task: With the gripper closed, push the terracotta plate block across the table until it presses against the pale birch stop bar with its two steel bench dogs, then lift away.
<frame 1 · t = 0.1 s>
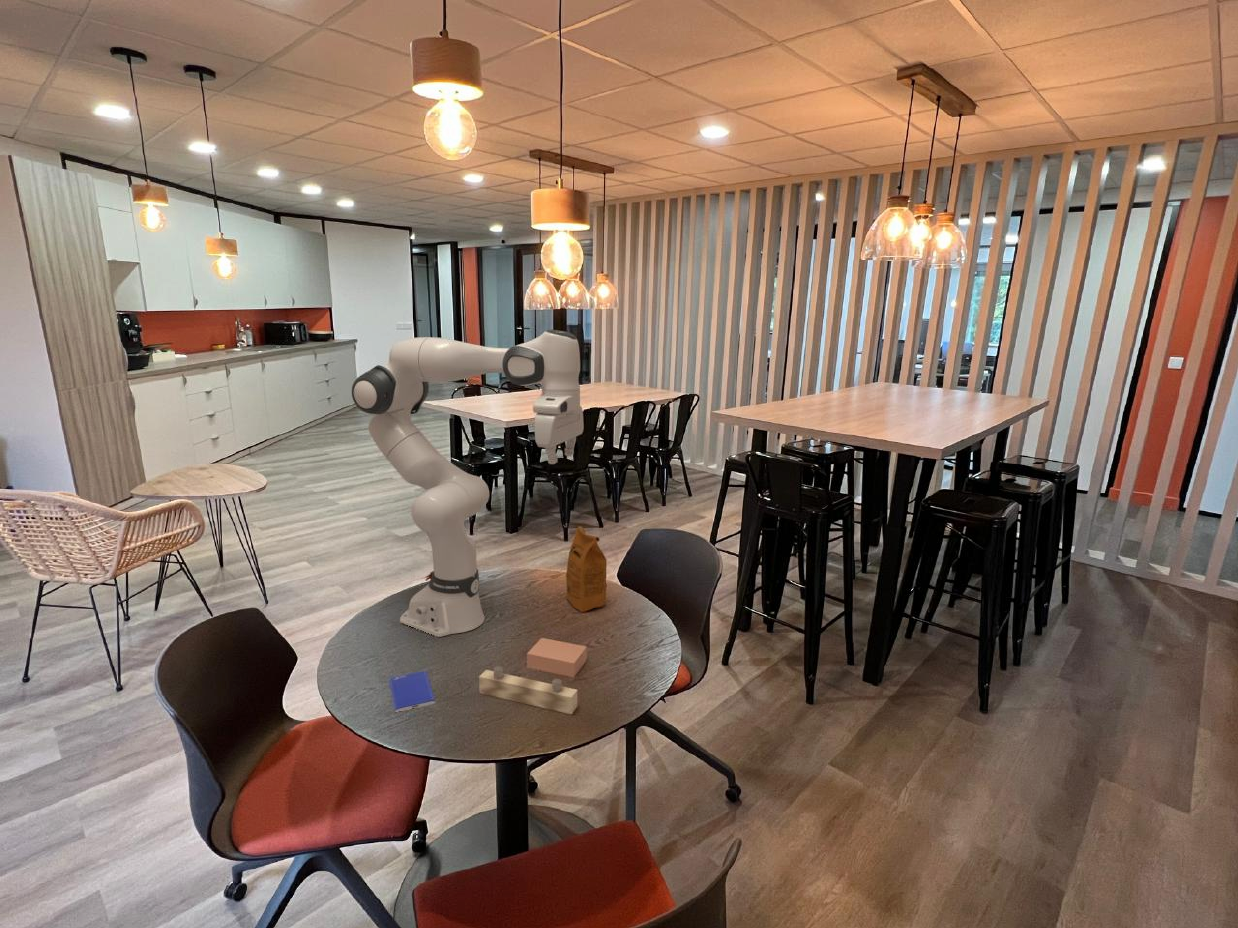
hand: (561, 459, 150), 48 cm above the table, tool pointing down, fingers open, 8 cm apart
terracotta block: (557, 665, 151), on the table
coffee package: (585, 603, 183), on the table
stop bar: (527, 699, 137), on the table
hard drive: (411, 695, 139), on the table
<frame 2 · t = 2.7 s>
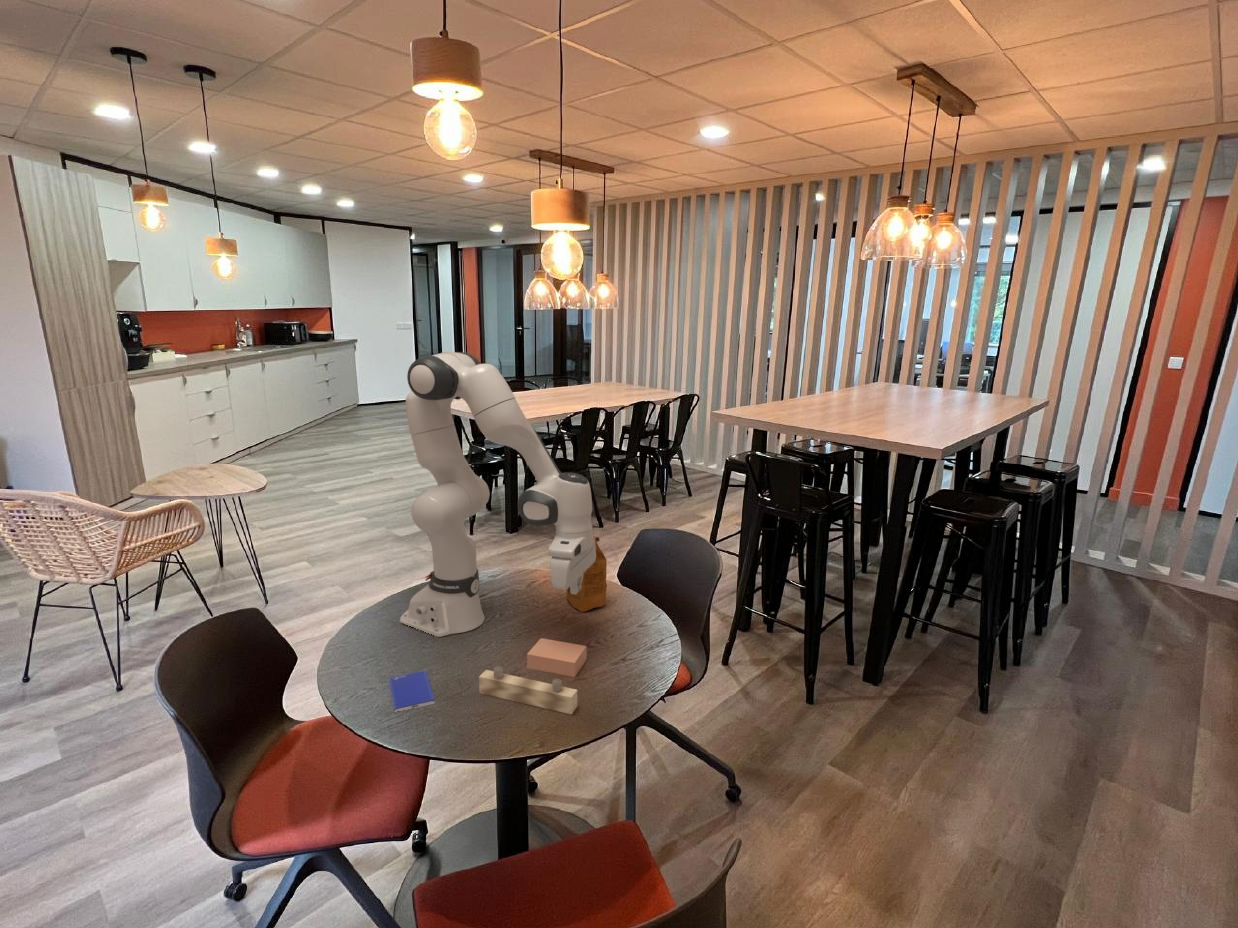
hand: (575, 592, 157), 14 cm above the table, tool pointing down, fingers closed
nothing on the table moved.
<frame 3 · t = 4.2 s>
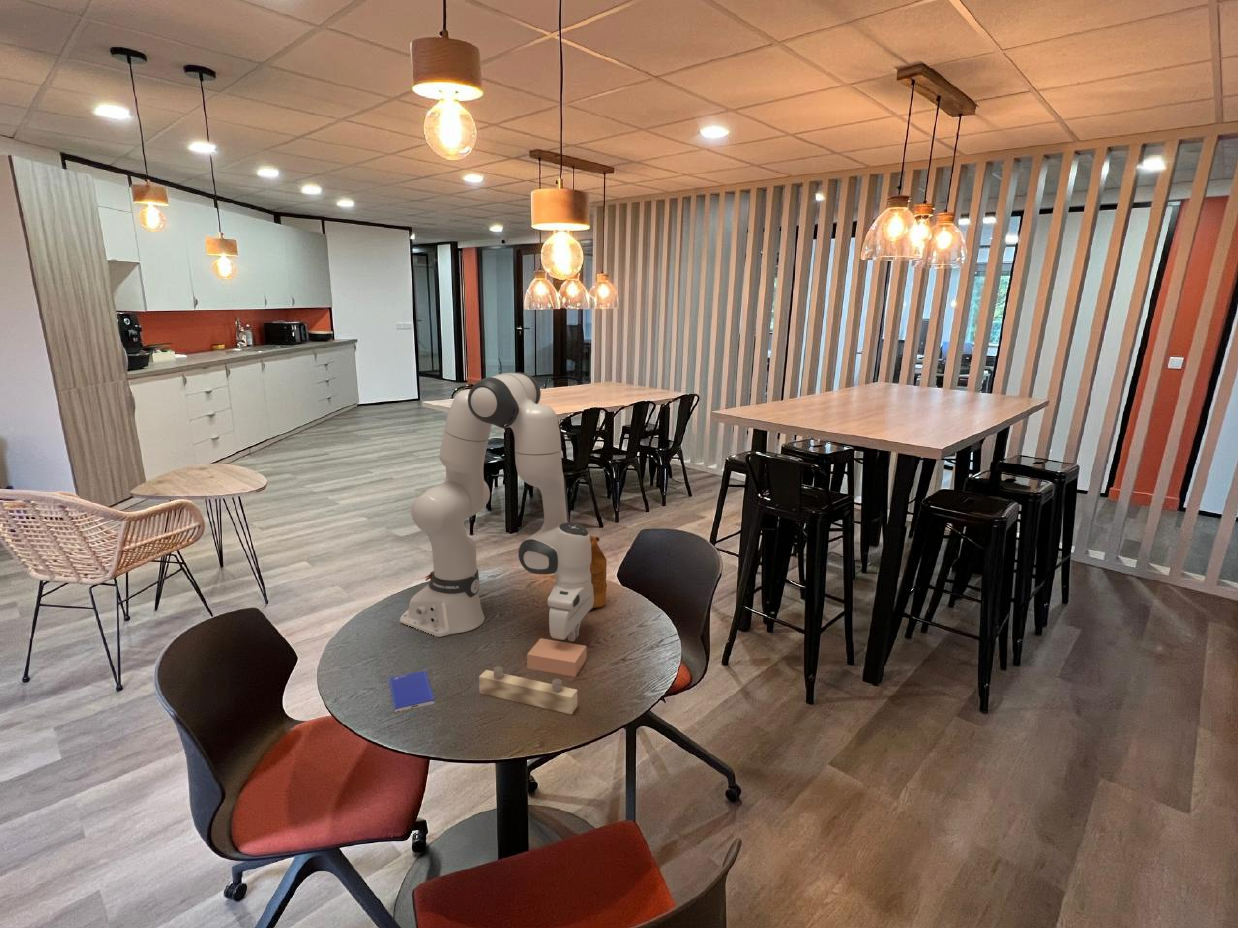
hand: (573, 638, 160), 2 cm above the table, tool pointing down, fingers closed
nothing on the table moved.
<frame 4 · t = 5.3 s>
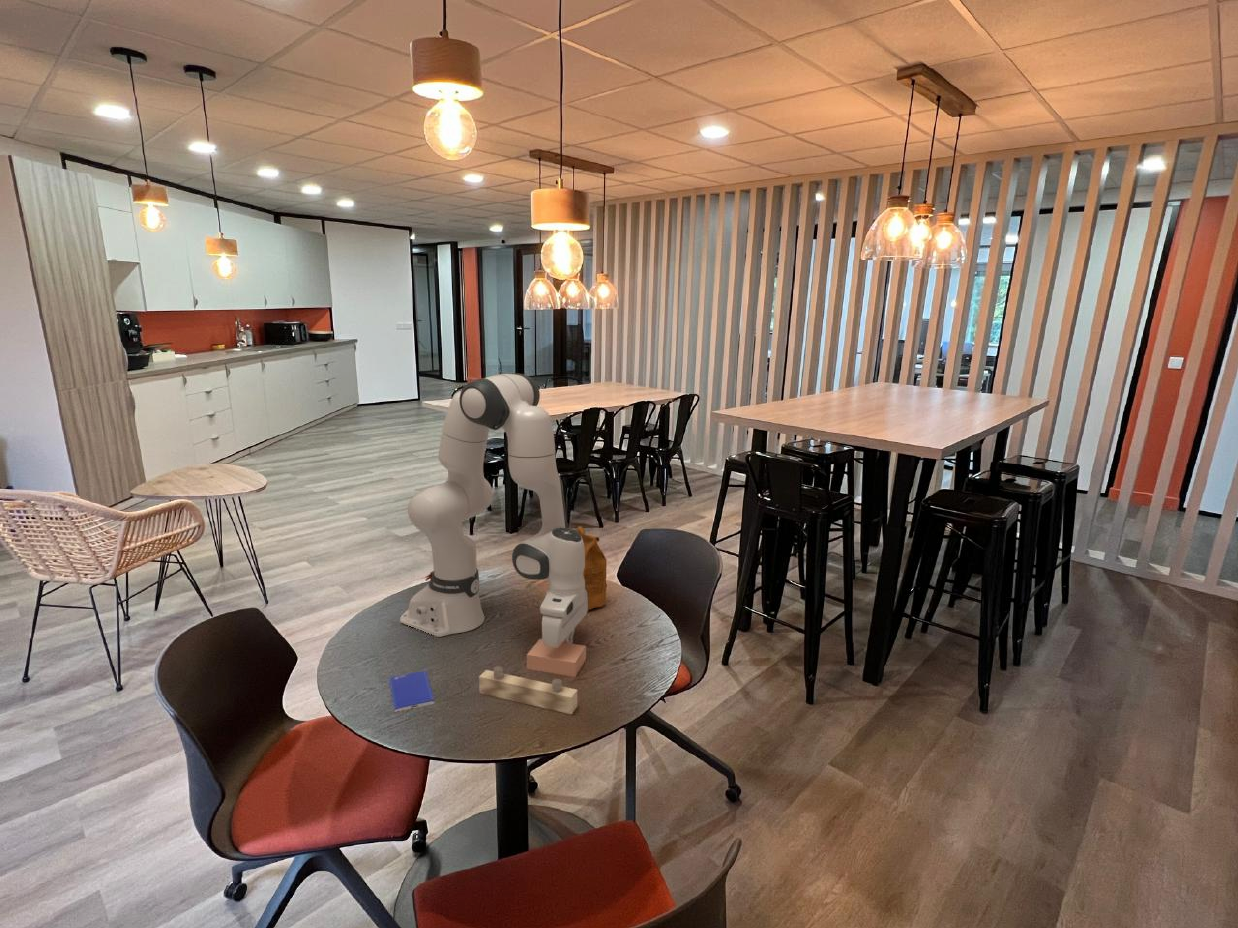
hand: (566, 646, 156), 2 cm above the table, tool pointing down, fingers closed
terracotta block: (556, 665, 151), on the table, touching gripper
everything else where it was.
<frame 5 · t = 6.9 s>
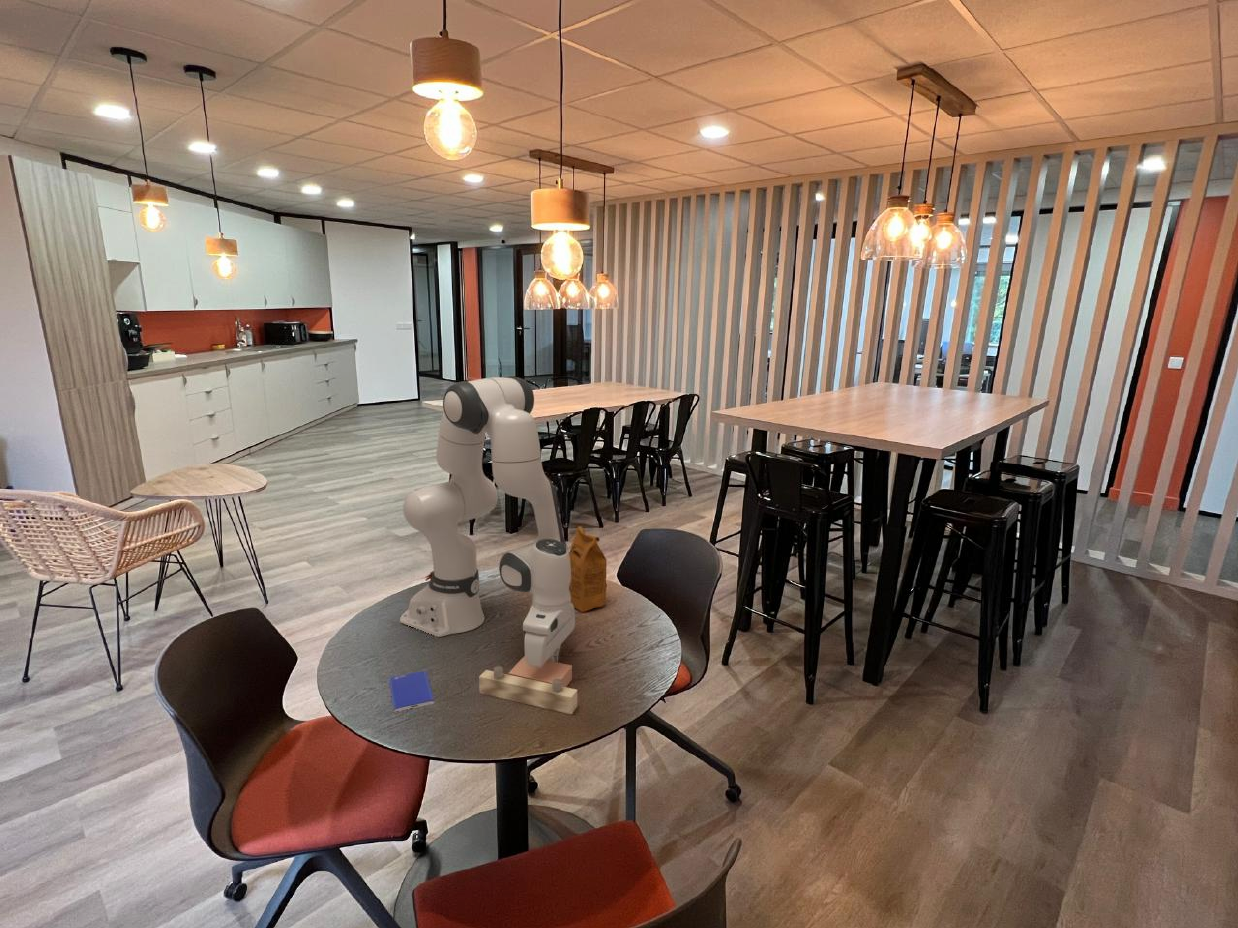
hand: (552, 664, 148), 2 cm above the table, tool pointing down, fingers closed
terracotta block: (540, 685, 143), on the table
everything else where it was.
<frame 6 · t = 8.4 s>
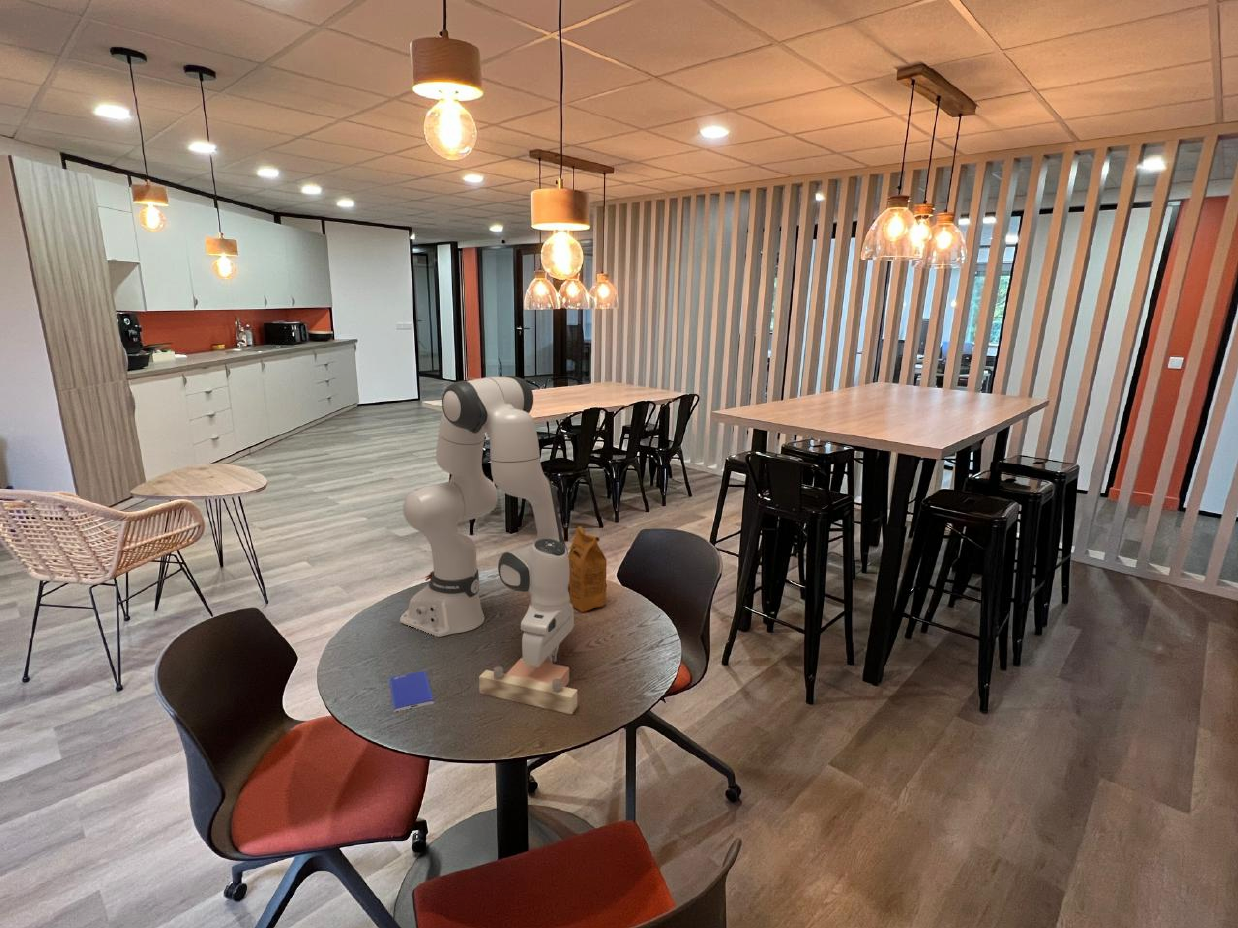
hand: (550, 663, 148), 2 cm above the table, tool pointing down, fingers closed
terracotta block: (537, 687, 142), on the table
everything else where it was.
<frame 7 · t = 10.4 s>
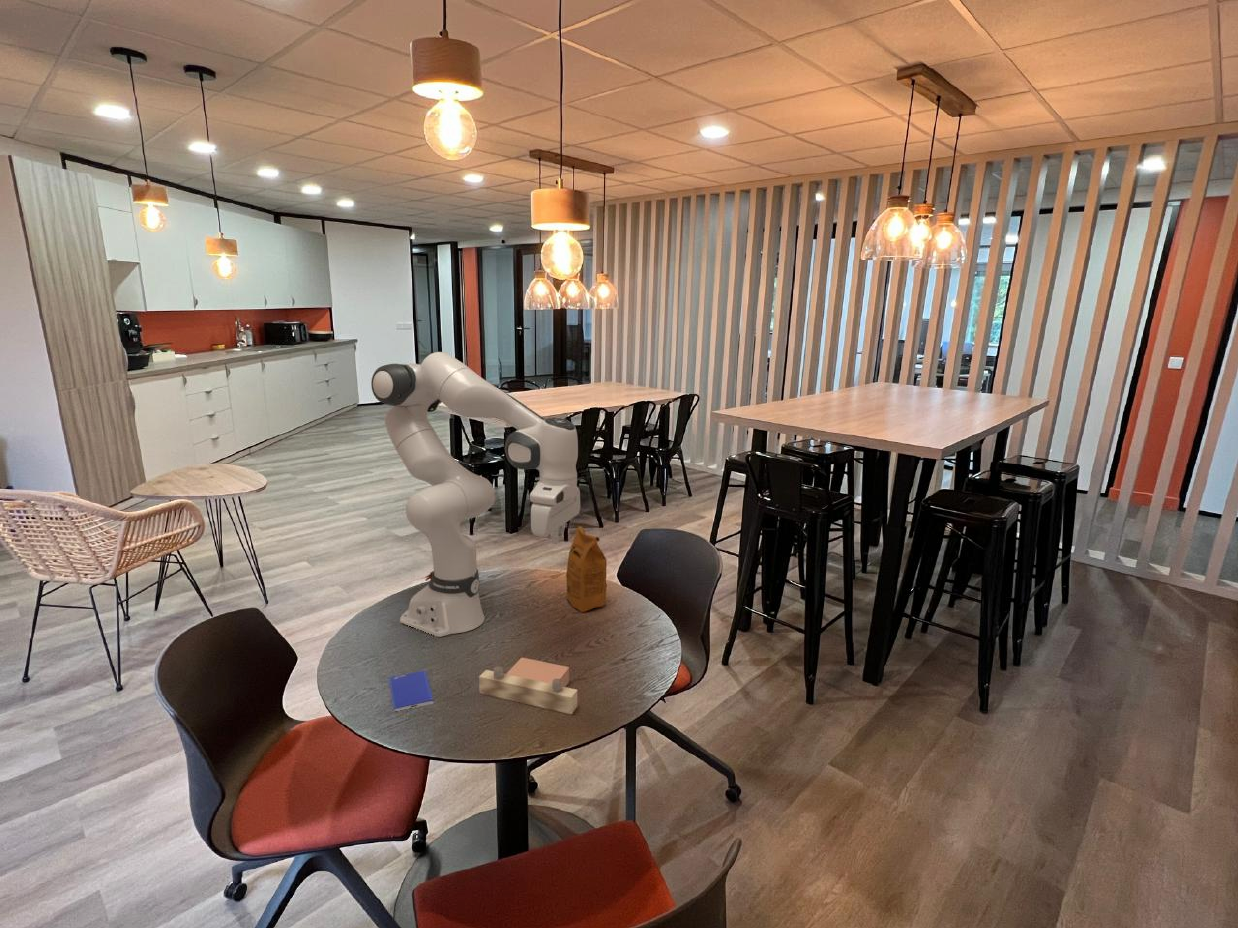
hand: (556, 541, 153), 28 cm above the table, tool pointing down, fingers closed
nothing on the table moved.
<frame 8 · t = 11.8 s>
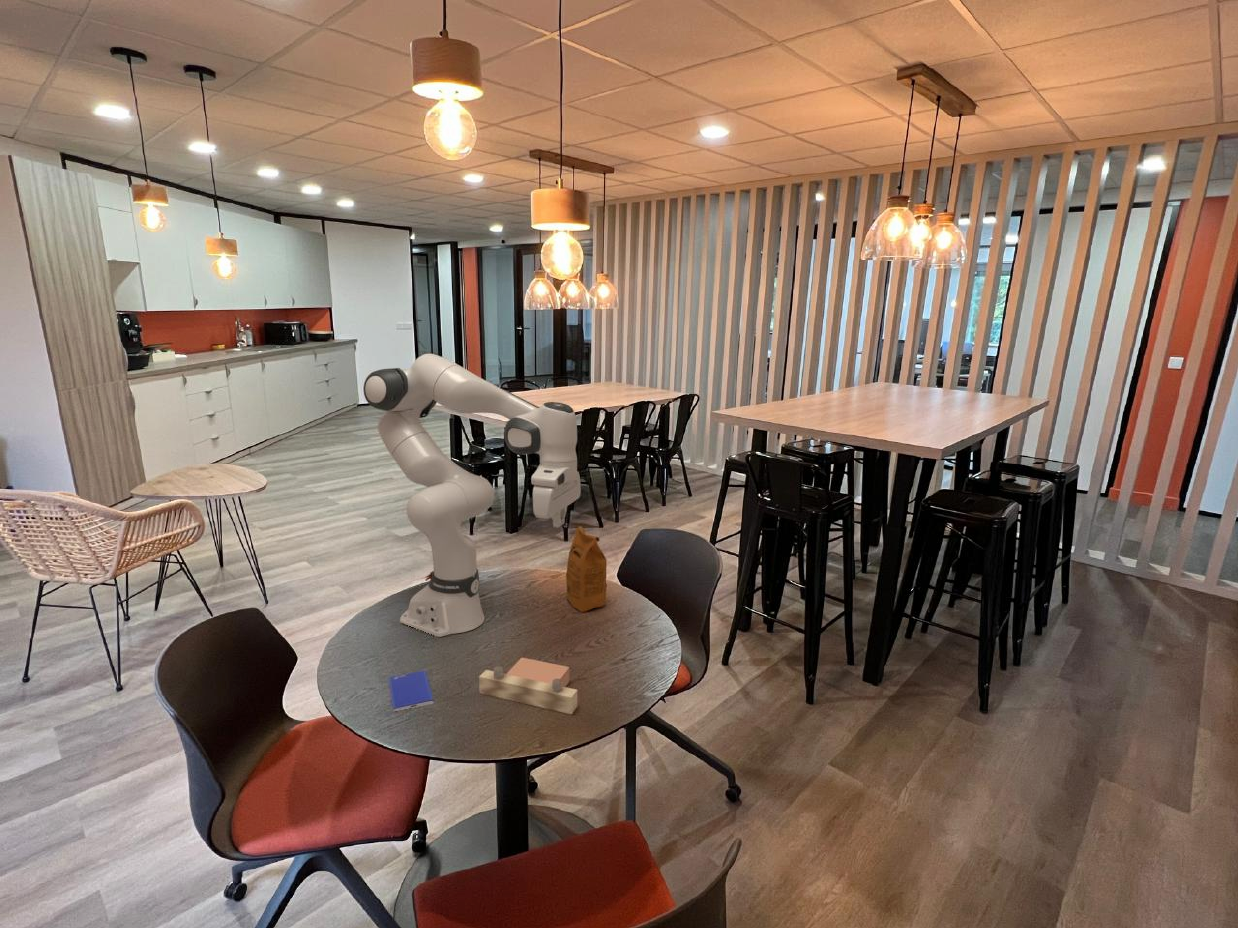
hand: (558, 525, 154), 31 cm above the table, tool pointing down, fingers closed
nothing on the table moved.
at the end: terracotta block inside the target area (0.3 cm from its centre), on the table; terracotta block 5.6 cm from the stop bar (horizontally); the gripper is holding nothing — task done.
